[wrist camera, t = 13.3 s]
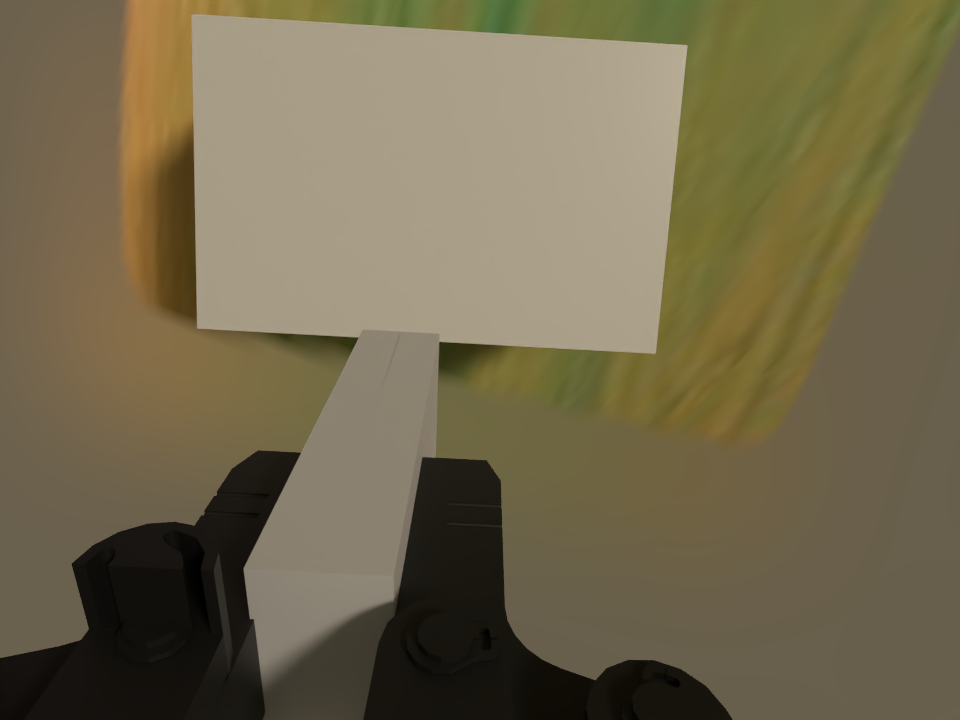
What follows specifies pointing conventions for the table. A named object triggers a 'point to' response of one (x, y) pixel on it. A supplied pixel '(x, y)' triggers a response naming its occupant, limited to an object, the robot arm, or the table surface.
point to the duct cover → (432, 182)
